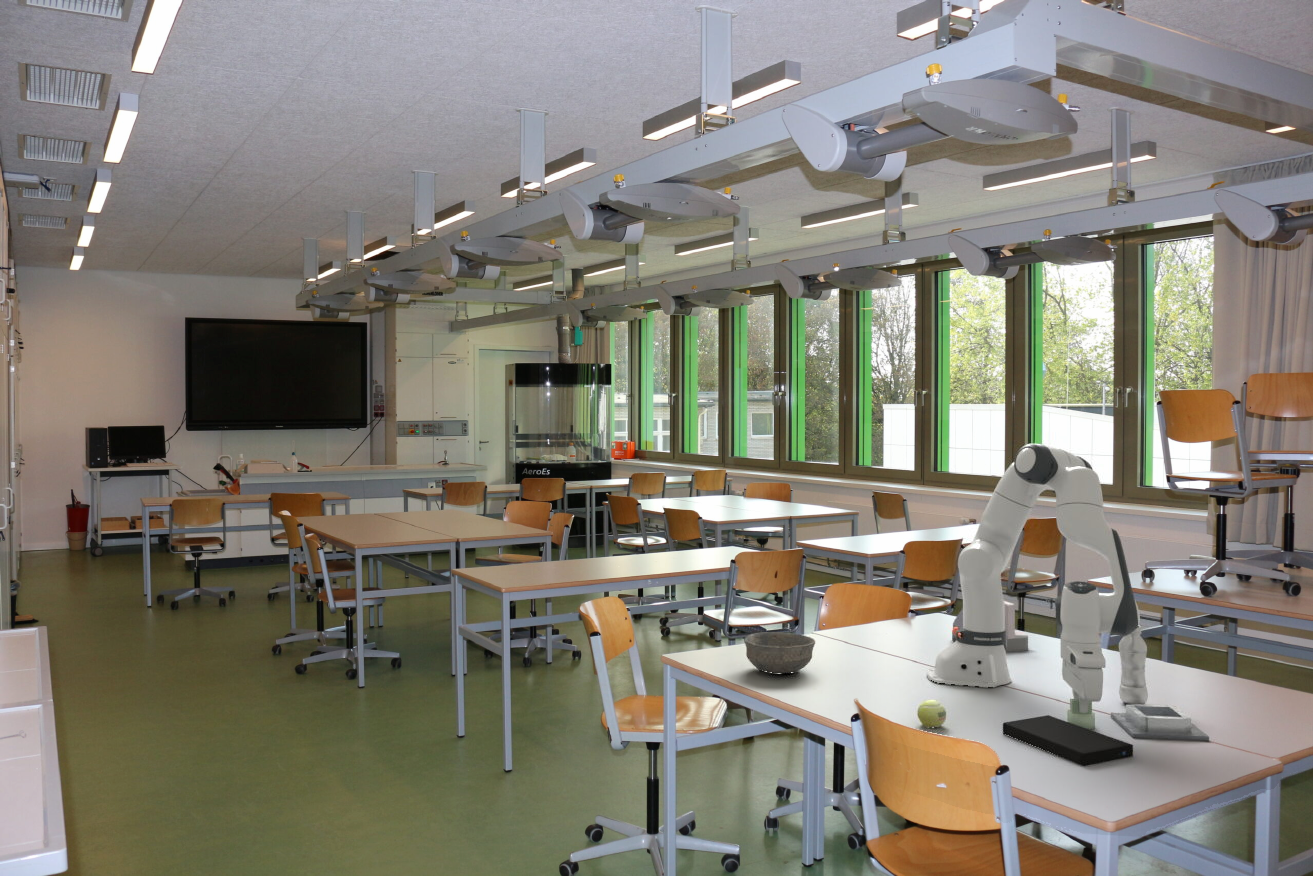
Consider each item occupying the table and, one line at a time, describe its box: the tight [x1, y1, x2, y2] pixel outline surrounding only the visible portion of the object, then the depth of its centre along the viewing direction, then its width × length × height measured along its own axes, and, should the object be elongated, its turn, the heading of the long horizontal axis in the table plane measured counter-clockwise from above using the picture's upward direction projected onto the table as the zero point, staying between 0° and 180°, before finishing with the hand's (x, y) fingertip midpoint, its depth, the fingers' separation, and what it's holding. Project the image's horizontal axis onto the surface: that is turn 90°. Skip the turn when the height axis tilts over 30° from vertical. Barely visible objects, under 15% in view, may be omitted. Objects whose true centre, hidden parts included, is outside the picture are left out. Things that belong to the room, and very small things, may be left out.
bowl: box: [743, 631, 816, 674], centre depth 275 cm, size 21×21×10 cm
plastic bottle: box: [1118, 624, 1149, 705], centre depth 241 cm, size 6×7×20 cm
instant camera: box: [951, 600, 1029, 652], centre depth 309 cm, size 21×21×15 cm
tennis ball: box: [916, 698, 947, 728], centre depth 225 cm, size 6×7×7 cm
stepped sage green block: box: [1066, 698, 1096, 730], centre depth 225 cm, size 6×6×6 cm
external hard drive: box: [1002, 714, 1134, 767], centre depth 211 cm, size 14×23×3 cm, turn 23°
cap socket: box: [1110, 703, 1210, 742], centre depth 222 cm, size 16×16×4 cm
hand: (1080, 710), depth 225 cm, fingers closed on stepped sage green block
